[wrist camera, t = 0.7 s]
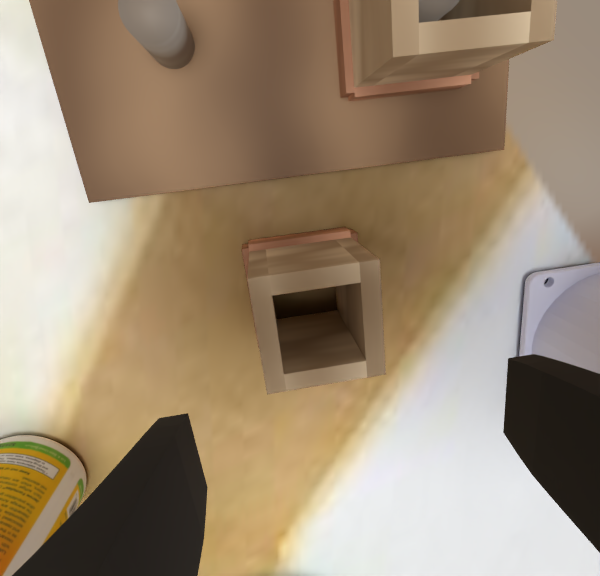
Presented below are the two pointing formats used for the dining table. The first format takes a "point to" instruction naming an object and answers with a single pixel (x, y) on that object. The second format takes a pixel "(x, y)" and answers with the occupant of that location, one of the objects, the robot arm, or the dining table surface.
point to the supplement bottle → (34, 495)
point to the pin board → (238, 96)
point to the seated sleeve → (431, 43)
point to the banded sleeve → (321, 326)
